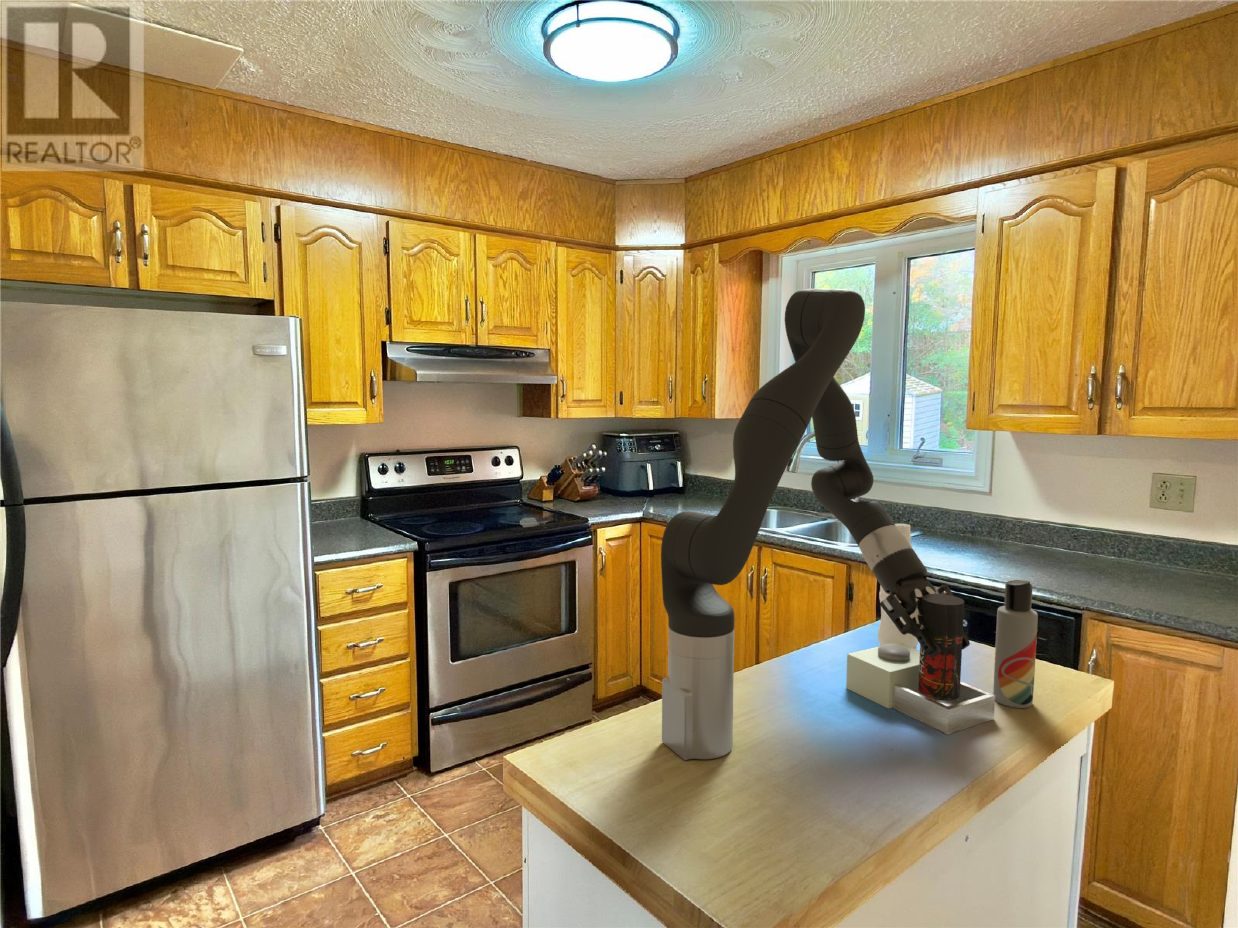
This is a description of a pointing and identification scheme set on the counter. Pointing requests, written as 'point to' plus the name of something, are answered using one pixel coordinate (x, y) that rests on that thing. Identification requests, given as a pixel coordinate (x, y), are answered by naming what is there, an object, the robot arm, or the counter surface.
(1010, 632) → the lotion bottle
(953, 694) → the deodorant
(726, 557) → the robot arm
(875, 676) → the cream rectangular block
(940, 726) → the white open box
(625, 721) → the counter surface
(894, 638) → the water bottle
